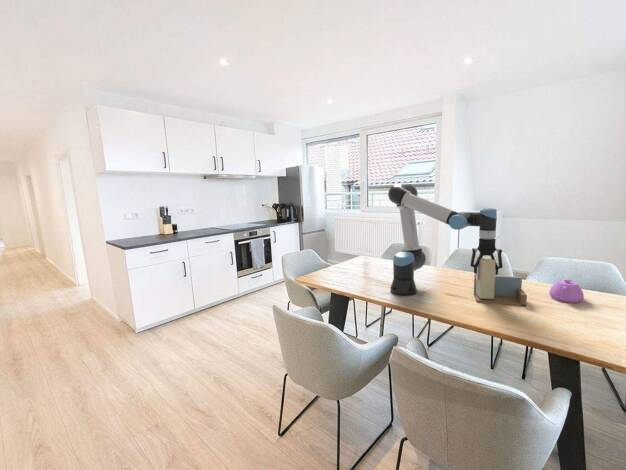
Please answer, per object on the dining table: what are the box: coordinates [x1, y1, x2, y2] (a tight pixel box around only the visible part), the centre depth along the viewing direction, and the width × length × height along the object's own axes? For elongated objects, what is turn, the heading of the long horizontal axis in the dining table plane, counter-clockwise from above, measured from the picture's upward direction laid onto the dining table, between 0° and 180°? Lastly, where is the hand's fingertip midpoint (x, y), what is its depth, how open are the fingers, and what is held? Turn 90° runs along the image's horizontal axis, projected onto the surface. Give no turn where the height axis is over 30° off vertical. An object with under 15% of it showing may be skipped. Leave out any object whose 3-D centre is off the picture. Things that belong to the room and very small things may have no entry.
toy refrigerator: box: [476, 256, 497, 299], centre depth 156 cm, size 8×7×21 cm
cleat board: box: [473, 273, 528, 308], centre depth 156 cm, size 22×12×12 cm, turn 68°
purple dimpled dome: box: [548, 278, 585, 304], centre depth 154 cm, size 14×20×11 cm
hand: (485, 279), depth 157 cm, fingers closed on toy refrigerator, 7 cm apart
